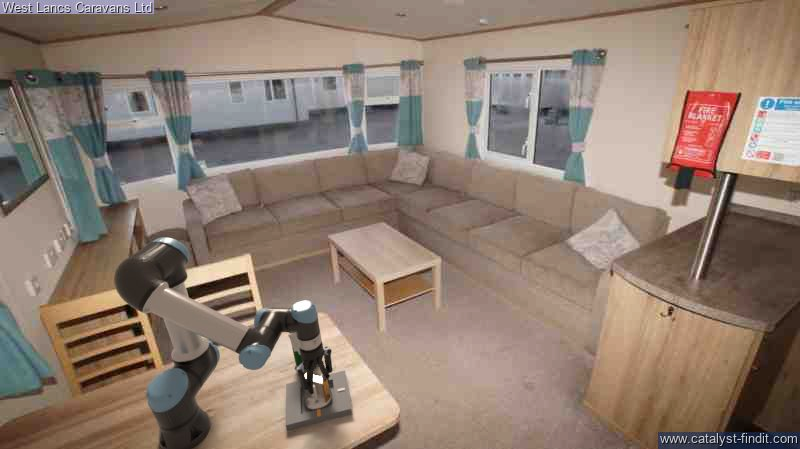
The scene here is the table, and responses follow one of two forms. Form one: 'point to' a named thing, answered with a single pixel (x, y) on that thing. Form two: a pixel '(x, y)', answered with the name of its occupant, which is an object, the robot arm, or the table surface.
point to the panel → (302, 416)
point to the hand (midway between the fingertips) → (320, 393)
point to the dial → (318, 394)
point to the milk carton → (295, 348)
